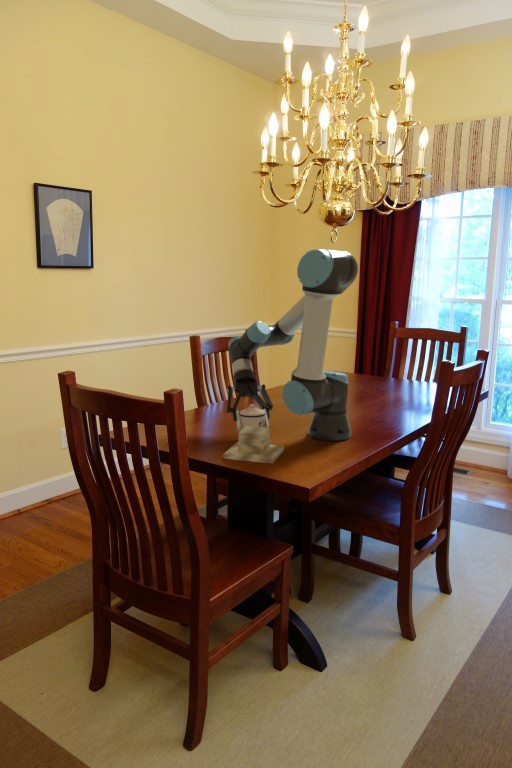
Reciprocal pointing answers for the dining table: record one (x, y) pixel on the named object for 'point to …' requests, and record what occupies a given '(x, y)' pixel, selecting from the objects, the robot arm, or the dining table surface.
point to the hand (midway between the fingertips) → (253, 427)
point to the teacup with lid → (252, 417)
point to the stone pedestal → (254, 446)
